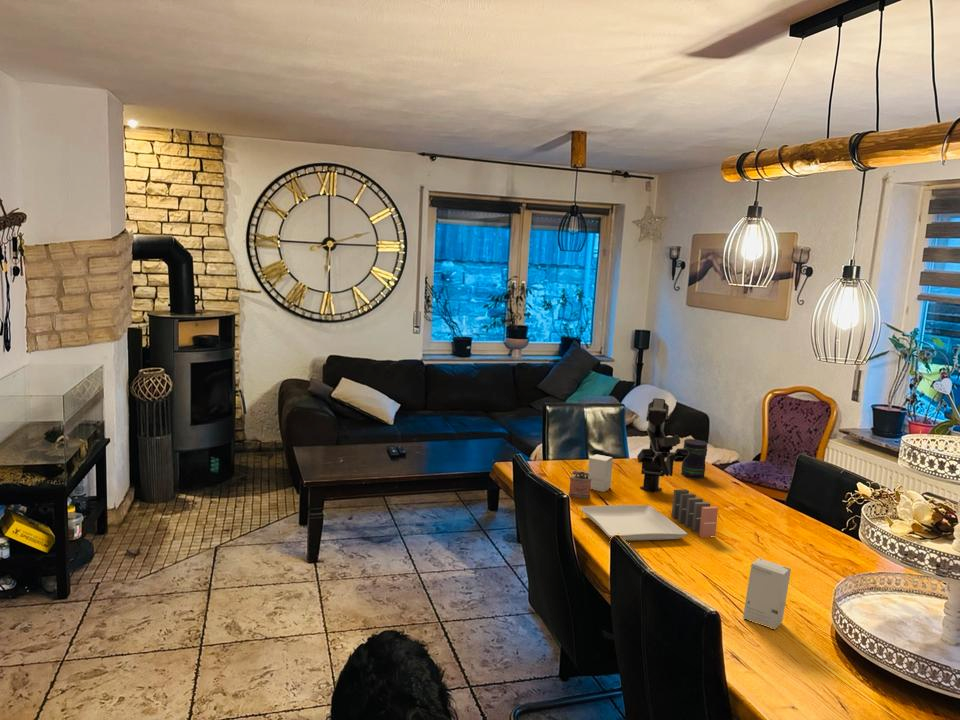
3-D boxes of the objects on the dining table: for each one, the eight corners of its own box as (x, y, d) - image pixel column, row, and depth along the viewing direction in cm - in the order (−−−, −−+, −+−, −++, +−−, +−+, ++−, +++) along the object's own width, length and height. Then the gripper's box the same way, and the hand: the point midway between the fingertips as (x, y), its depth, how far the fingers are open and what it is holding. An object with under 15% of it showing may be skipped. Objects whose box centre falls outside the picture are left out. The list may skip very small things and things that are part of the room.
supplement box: (611, 488, 280) (613, 457, 278) (603, 492, 274) (606, 460, 272) (593, 484, 284) (596, 453, 282) (586, 488, 278) (588, 457, 276)
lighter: (589, 496, 268) (591, 470, 267) (590, 498, 265) (592, 473, 264) (568, 494, 269) (570, 468, 268) (568, 497, 266) (570, 471, 264)
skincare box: (742, 619, 177) (748, 563, 175) (750, 611, 181) (757, 556, 179) (777, 632, 171) (783, 573, 169) (784, 623, 176) (791, 566, 174)
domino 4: (691, 531, 237) (694, 502, 236) (704, 530, 238) (707, 502, 237) (694, 532, 235) (697, 504, 234) (707, 532, 237) (710, 503, 235)
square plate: (609, 546, 220) (610, 534, 220) (577, 515, 247) (578, 505, 246) (687, 543, 227) (689, 531, 226) (648, 513, 253) (649, 503, 253)
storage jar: (707, 479, 299) (710, 445, 297) (684, 478, 299) (687, 444, 298) (700, 472, 309) (703, 439, 307) (678, 471, 309) (681, 438, 307)
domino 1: (671, 516, 250) (673, 489, 249) (684, 516, 251) (686, 489, 250) (673, 518, 248) (676, 491, 247) (686, 518, 250) (689, 490, 248)
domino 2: (677, 521, 246) (680, 493, 244) (690, 520, 247) (693, 493, 246) (680, 523, 244) (682, 495, 243) (693, 522, 245) (695, 494, 244)
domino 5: (698, 536, 233) (701, 506, 231) (712, 535, 234) (715, 506, 233) (701, 538, 231) (704, 508, 230) (715, 537, 232) (718, 508, 231)
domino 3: (684, 526, 241) (687, 497, 240) (697, 525, 242) (700, 497, 241) (687, 527, 240) (689, 499, 238) (700, 527, 241) (703, 499, 240)
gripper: (643, 427, 257) (655, 465, 248) (689, 427, 262) (702, 464, 252) (632, 443, 266) (643, 480, 256) (676, 442, 270) (689, 479, 261)
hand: (669, 475), depth 256 cm, fingers closed
